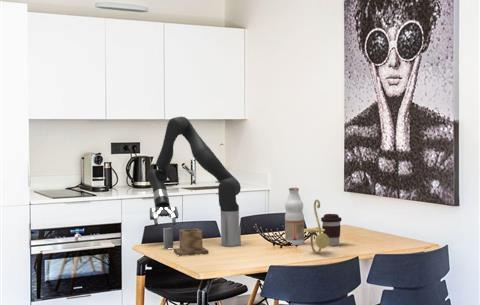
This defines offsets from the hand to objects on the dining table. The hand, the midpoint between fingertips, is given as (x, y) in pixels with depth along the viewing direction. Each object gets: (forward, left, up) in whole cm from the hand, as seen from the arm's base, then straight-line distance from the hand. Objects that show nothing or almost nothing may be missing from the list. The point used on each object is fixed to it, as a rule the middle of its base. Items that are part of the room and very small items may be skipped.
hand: (165, 224), depth 302 cm
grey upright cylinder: (0, +7, -11) cm, 13 cm away
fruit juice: (-62, +18, -11) cm, 65 cm away
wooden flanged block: (-8, +22, -11) cm, 25 cm away
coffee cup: (-77, +29, -11) cm, 83 cm away
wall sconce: (-61, +47, -11) cm, 77 cm away
